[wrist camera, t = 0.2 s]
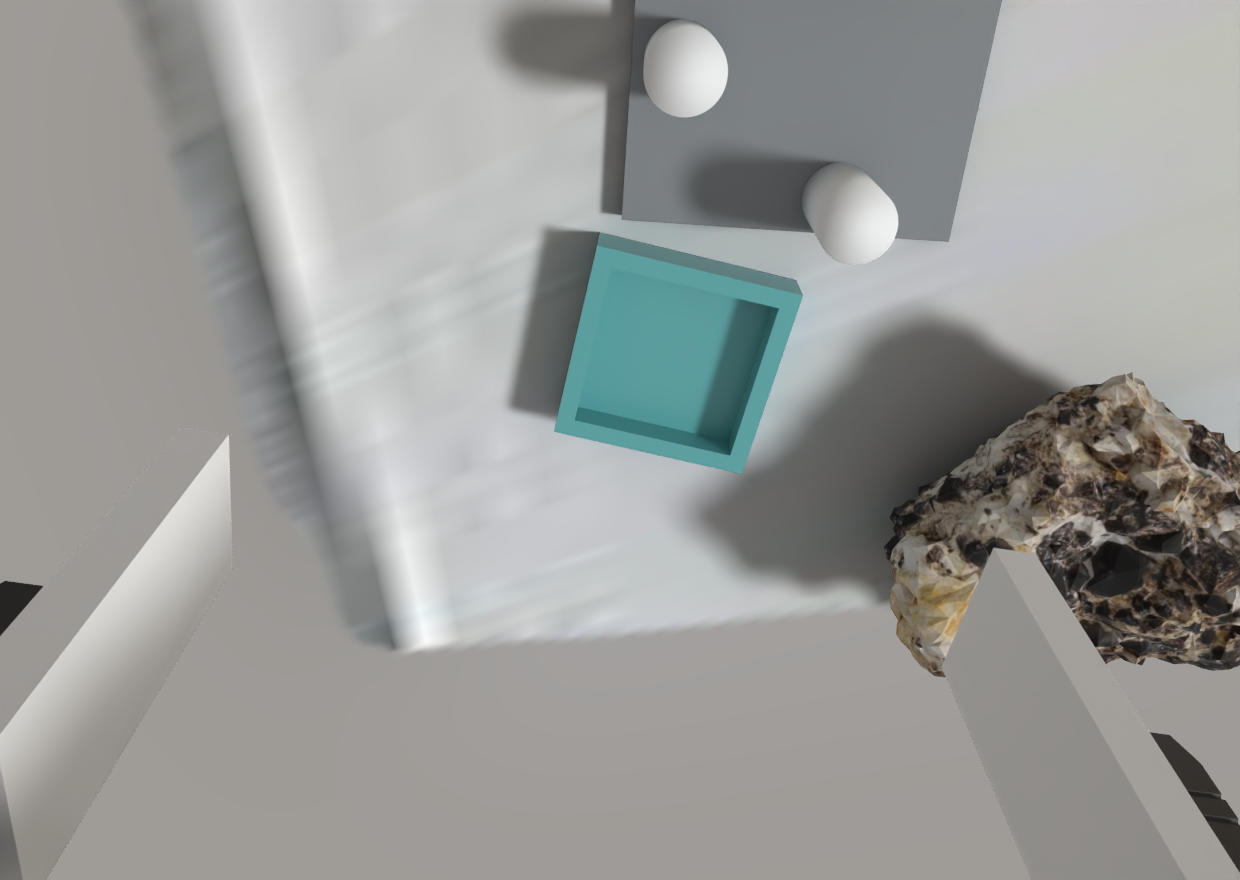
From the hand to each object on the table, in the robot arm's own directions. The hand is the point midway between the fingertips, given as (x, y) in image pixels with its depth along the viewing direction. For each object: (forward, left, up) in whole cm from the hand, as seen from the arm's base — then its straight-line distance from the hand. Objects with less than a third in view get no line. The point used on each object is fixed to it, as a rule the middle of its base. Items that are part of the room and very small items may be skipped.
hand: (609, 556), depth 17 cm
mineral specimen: (+9, +23, -28) cm, 37 cm away
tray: (+6, +3, -28) cm, 29 cm away
